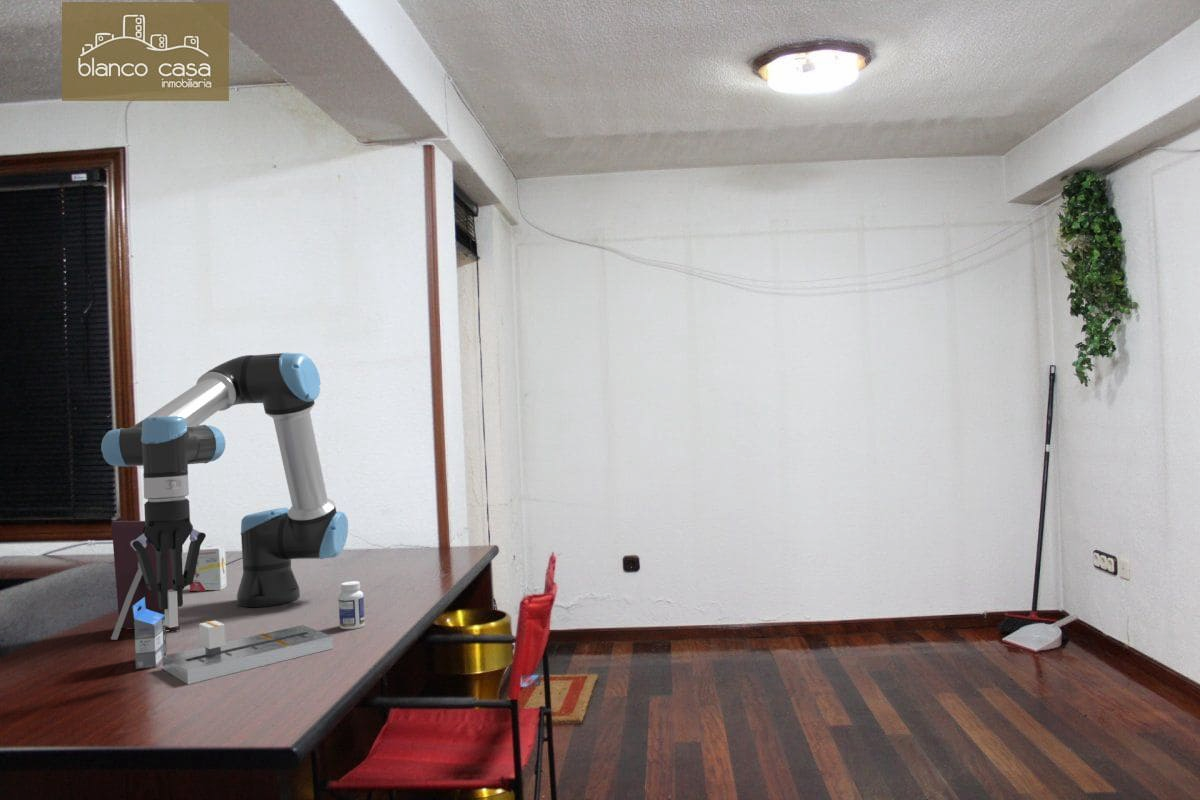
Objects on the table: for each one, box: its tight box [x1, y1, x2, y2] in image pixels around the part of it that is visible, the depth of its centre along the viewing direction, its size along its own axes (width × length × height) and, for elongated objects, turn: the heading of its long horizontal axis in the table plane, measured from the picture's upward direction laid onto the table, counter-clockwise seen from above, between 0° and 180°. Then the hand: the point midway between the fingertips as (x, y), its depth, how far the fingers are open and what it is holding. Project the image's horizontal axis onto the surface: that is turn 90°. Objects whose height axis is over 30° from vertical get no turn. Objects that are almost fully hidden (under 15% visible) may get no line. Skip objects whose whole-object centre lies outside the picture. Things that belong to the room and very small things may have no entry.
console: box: [162, 624, 334, 685], centre depth 171 cm, size 14×28×3 cm, turn 133°
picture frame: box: [110, 520, 180, 641], centre depth 194 cm, size 17×10×25 cm, turn 71°
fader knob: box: [198, 620, 227, 657], centre depth 166 cm, size 5×3×8 cm, turn 44°
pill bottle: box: [337, 580, 366, 630], centre depth 193 cm, size 5×5×10 cm
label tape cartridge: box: [132, 597, 168, 670], centre depth 171 cm, size 9×4×12 cm, turn 14°
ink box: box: [189, 544, 228, 592], centre depth 241 cm, size 9×5×12 cm, turn 95°
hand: (171, 625), depth 161 cm, fingers closed
